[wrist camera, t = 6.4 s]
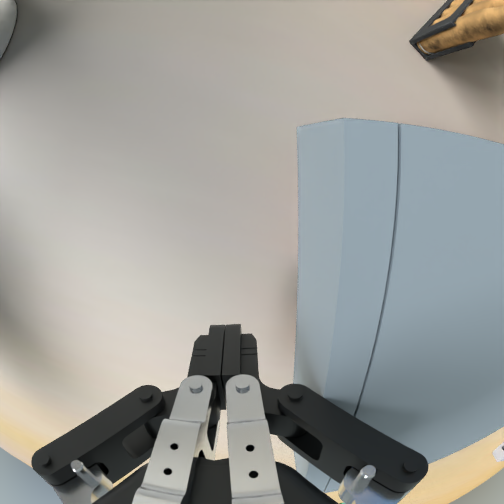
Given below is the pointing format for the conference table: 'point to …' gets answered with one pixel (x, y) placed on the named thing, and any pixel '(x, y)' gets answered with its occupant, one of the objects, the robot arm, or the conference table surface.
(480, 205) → the box lid
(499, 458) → the charger
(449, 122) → the conference table surface
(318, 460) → the robot arm
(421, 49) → the ammunition clip
